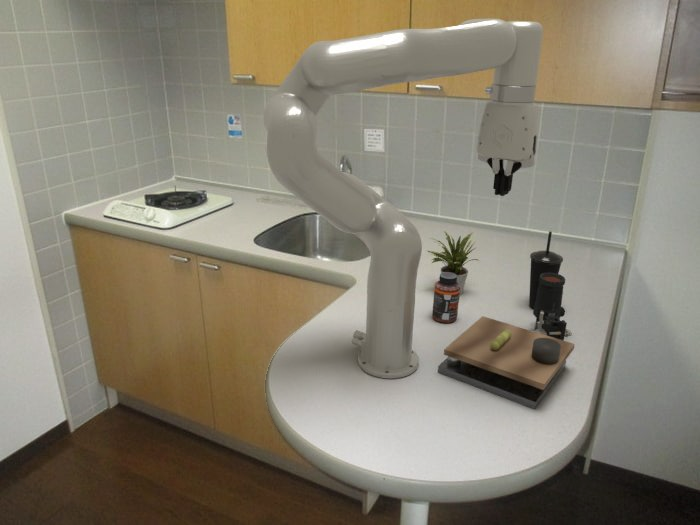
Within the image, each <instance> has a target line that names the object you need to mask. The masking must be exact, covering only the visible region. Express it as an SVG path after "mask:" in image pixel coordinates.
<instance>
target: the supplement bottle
mask: <svg viewBox="0 0 700 525" xmlns="http://www.w3.org/2000/svg"><path fill="white" fill-rule="evenodd" d="M438 278H439V279H438V280H437V281H436V282H435V284H434V291H433V303H432V318H433V320H435V321H437V322H439V323H443V324H449V323H453V322H455V321H456V320H457V318H458V312H459V310H458V309H459V300H460V295H459V294H460V285H459V284H458V283H457V275H456V274H454V273H451V272H443V273H441V272H440V274H439V277H438Z"/></svg>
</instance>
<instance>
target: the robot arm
mask: <svg viewBox="0 0 700 525" xmlns="http://www.w3.org/2000/svg"><path fill="white" fill-rule="evenodd" d="M543 37H544V28H543V25H542V24H541V22H537V21H531V20H530V21H528V20H511V21H510V20H509V21H505V20H503V19H499V18H475V19H474V18H473V19H468V20H465V21H463V22H461V23H459V25H455V26H453V25H452V26H444V27H436V28H401V29H393V30H388V31H382V32H378V33H370V34H367V35H366V34H365V35H362V36H361V35H360V36H355V37H354V36H353V37H349V38H343V39H336V40H320V41H315V42H314V43H312V44H310V45H309V46H308V47H307V48H306V49H305V50H304V51H303V53H302V55H301V56H300V57H299V59H298V60H297V62H296V63H295V65H294V66H293V67H292V69H291V70H290V72H288V74H287V75H286V77H285V78H284V79H283V81H282V83H281V84H280V85H279V87H278V88H277V90H276V91H275V92H274V93H273V94H272V96H271V98H270V99H269V100H268V102H267V104H266V106H265V108H264V111H263V123H264V124H263V125H264V127H265V129H266V132H267V133H266V157H267V158H266V159H267V162H268V165H269V167H270V170H271V171H272V172H271V173H272V174H273V176H274V177H275V179H276V181H278V183H279V184H281V186H282V187H283V188H285V190H287V191H288V192H289V193H291V194H292V195H294V197H296V198H297V199H298V200H300V201H301V202H302V203H303V204H305V205H306V206H307V207H309V208H310V209H311V210H313V211H314V212H315V213H316V214H318V215H319V216H320V217H322V218H323V219H325V220H326V221H327V222H329V223H330V224H331V225H332V226H333V227H334V228H336V230H339V231H341V232H343V233H347V234H353V235H355V236H356V237H357V238H359V239H360V240H361V241H362V242H364V244H365V245H366V247H367V249H368V250H369V253H370V263H369V268H368V273H367V283H366V316H365V317H366V318H365V319H366V320H365V321H366V322H365V332H364V331H361V330H359V329H357V330H355V331H354V332H353V335H352V339H351V344H353V345H355V346H358V347H360V350H359V352H358V354H357V362H358V366H359V368H360V369H361V370H363V371H364V372H365V373H367V374H369V375H371V376H374V377H378V378H383V379H399V378H405V377H406V376H410V375H411V374H413V373H414V372H415V371H417V369H418V367H419V362H420V359H419V356H418V354H417V353H416V351H415V350H414V349H413V340H414V339H413V337H414V323H415V321H414V319H415V309H416V308H415V306H416V288H417V276H418V271H419V266H420V262H421V258H422V257H421V256H422V250H423V245H422V244H423V243H422V238H421V235H420V233H419V230H418V228H416V226H415V224H414V223H412V222H411V221H410V219H408V217H406V216H405V215H404V214H403V213H402V212H401V211H400V210H399V208H397V207H396V206H395V205H393V204H392V203H390V202H389V201H388V200H387V199H385V198H384V197H383V196H381V195H380V194H379V193H378V192H376V191H375V190H374V189H373V188H372V187H370V186H369V185H367V183H365V182H364V181H362V180H361V179H360V178H359V177H357V176H356V175H354V174H352V173H350V172H345V171H341V170H340V169H339V168H337V167H336V166H335V165H334V164H333V163H331V162H330V161H329V160H328V159H326V158H325V157H324V156H323V155H322V154H321V153H320V152H319V150H318V147H317V143H316V139H317V134H318V121H317V120H318V119H317V117H316V116H317V115H318V114H319V112H320V111H321V109H322V108H323V107H324V105H325V104H326V103H327V101H328V100H329V99H330V97H331V96H334V95H337V96H338V95H344V94H348V93H354V92H359V91H365V90H370V89H375V88H381V87H387V86H391V85H397V84H403V83H411V82H412V83H415V82H421V81H427V80H432V79H433V80H434V79H439V78H445V77H452V76H460V75H466V74H467V75H468V74H471V73H477V72H483V71H487V70H493V69H494V70H493V82H492V84H491V85H490V86H486V87H485V90H484V93H485V94H486V95H489V96H490V100H489V101H486V103H485V105H484V109H483V113H482V116H481V119H480V120H481V122H480V125H479V129H478V130H479V131H478V137H477V144H476V153H477V154H478V155H477V158H478V160H479V161H481V162H483V163H485V164H488V166H489V167H490V168H491V169H492V170H491V171H492V173H493V174H494V178H493V190H494V195H495V196H501V197H504V196H506V195H508V194H509V192H510V191H512V187H513V186H512V184H513V180H514V179H513V178H514V174H515V173H516V172H517V171H519V170H520V169H525V168H532V167H534V166H535V155H536V154H537V153H536V152H537V146H538V138H539V137H538V134H539V113H538V111H539V110H538V104H537V103H535V97H536V89H537V82H538V75H539V74H538V73H539V67H540V59H541V51H542V44H543ZM505 161H506V166H505Z"/></svg>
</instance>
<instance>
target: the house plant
mask: <svg viewBox="0 0 700 525" xmlns="http://www.w3.org/2000/svg"><path fill="white" fill-rule="evenodd" d="M443 233H444V234H445V236H446V237H445V240H446V241H447V242H448V244H447V245H448V247H449V249H448V248H447V247H446V245H445V244H444V243H443V242H442V241H440V240H438V239H435V238H432V237H431V238H430V237H429V239H430V240H434V241H435V242H437V243H439V244H438V246H440V247H442V249H443V251H441V252H438V251H433V250H427V252H428V253H430V255H431V256H435V257H434V258H432V259H431V261H432V262H431V264H430V265H432V264H433V263H438V262H443V263H444V264H446V265H444V266H442V267H441V268H440V274H441V273H443V272H451V273H454V274H456V275H457V283H458V284H459V285H460V294H459V296H461V295H462V294H463V292H464V287H465V285H466V281H467V277H468V275H469V270H468V269H467V268H465V264H467V263H468V262H471V261H478V262H479V263H480V262H481V261H480V260H479V259H477V258H475V259H473V258H472V259H470V260H468V259H469V257H468V255H469V254H470V253H472V251H474V250H476V248H477V247H474V248H473V246H474V245H475V244H476V241H474V242H473V243H472V241H473V239H474V238H473V237H472V238H471V236H472V235H473V234H474V231H473V232H469V234H467V235H466V236H464V238H463V239H462V238H461V237H462V236H461V235H460V236H459V237H458V240H457V241H456V243H455V239H454V238H453V236H451V235H449V234H448V232H446V231H444V230H443ZM470 238H471V239H470ZM461 239H462V240H461ZM469 239H470V241H469ZM434 241H432V242H433V243H434ZM468 241H469V242H468ZM467 243H468V244H467ZM471 243H472V244H471ZM466 244H467V245H466ZM469 246H470V247H469ZM472 248H473V249H472Z"/></svg>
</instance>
